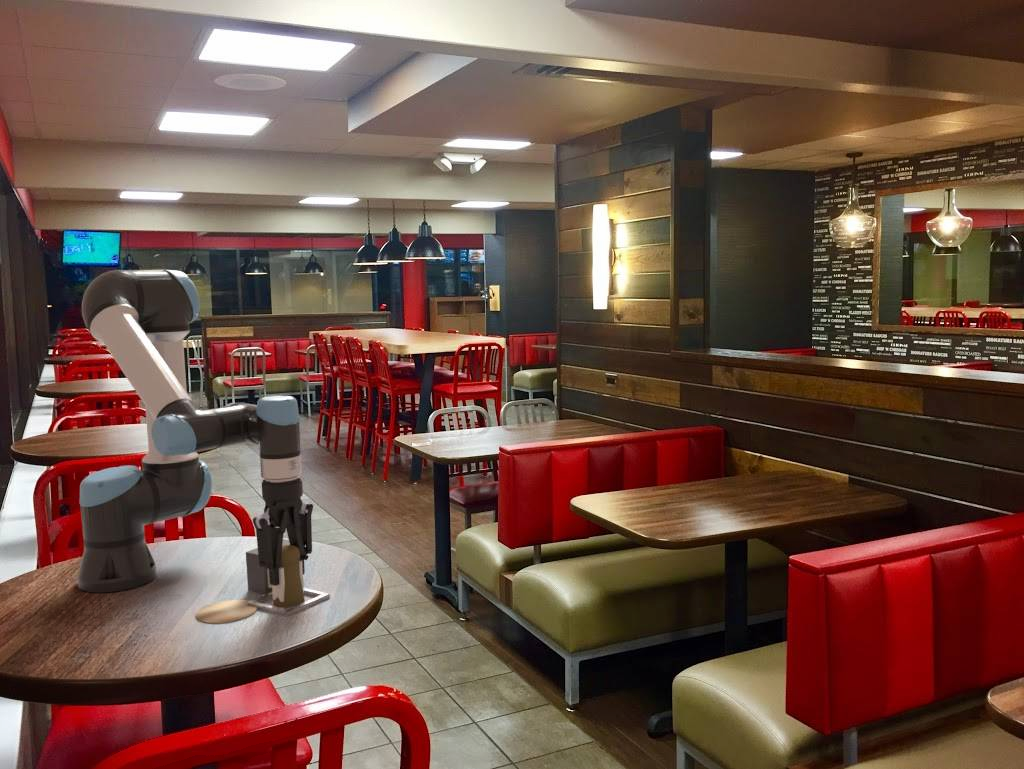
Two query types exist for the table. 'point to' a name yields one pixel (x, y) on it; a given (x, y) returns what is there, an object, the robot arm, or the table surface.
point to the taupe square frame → (318, 598)
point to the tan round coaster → (225, 611)
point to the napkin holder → (258, 573)
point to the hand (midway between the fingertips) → (288, 596)
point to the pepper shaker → (291, 578)
